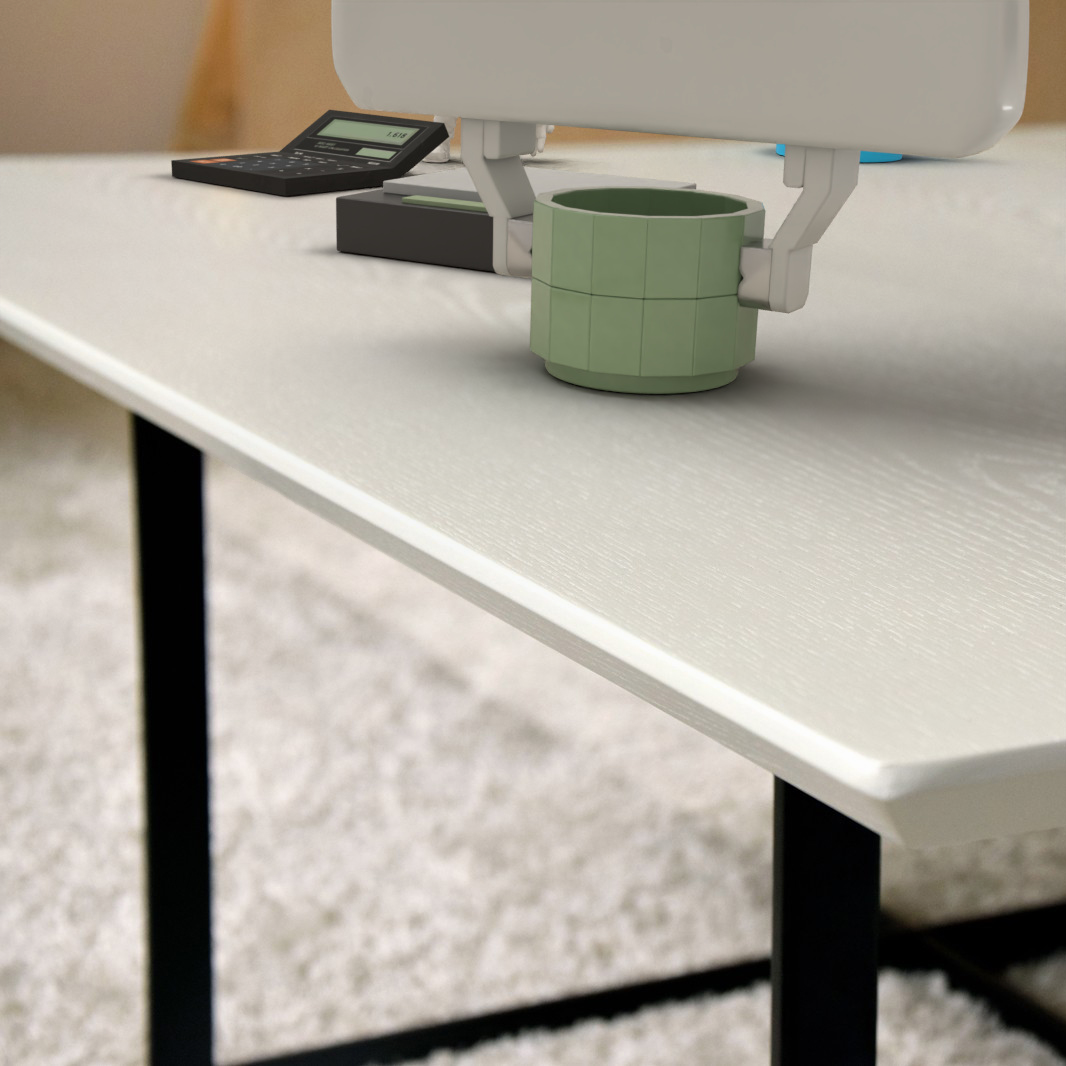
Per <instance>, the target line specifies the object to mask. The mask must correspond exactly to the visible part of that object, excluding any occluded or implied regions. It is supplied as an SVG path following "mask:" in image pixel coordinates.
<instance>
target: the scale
mask: <svg viewBox="0 0 1066 1066" xmlns="http://www.w3.org/2000/svg"><path fill="white" fill-rule="evenodd" d="M523 167H524V169H525V172H526V174H527V177H528V179H529V182H530V184H531V187H532V189H533V192H534V194H535V197H537V195H538V194H540V193H545V192H549V191H554V190H559V189H565V188H580V187H596V186H649V187H667V188H682V189H696V190H697V183H695V182H688V181H687V182H684V181H676V180H668V179H667V180H665V179H664V180H663V179H657V178H656V179H655V178H644V177H636V176H635V177H634V176H625V175H615V174H614V175H613V174H604V173H593V172H582V171H573V170H562V169H554V168H553V169H551V168H542V167H532V166H523ZM335 225H336V227H335V228H336V229H335V232H336V237H335V238H336V251H338V252H342V253H351V254H356V255H357V254H358V255H365V256H372V257H381V258H386V259H387V258H389V259H395V260H401V261H402V260H403V261H410V262H417V263H425V264H433V265H439V266H448V267H456V268H461V269H469V270H477V271H485V272H491V273H496V272H495V270H494V267H493V217H491V216H489V214H488V212H487V210H486V208H485V206H484V204H483V202H482V199H481V197H480V195H479V193H478V191H477V189H476V187H475V185H474V183H473V181H472V179H471V177H470V175H469V173H468V171H467V169H466V167H465V166H464V167H460V168H459V167H458V168H453V169H448V170H442V171H436V172H428V173H424V174H416V175H411V176H404V177H402V178H399V179H393V180H387V181H383V186H382V189H375V190H370V191H364V192H358V193H352V194H346V195H341V196H336V198H335Z"/></svg>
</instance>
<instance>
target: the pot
mask: <svg viewBox="0 0 1066 1066" xmlns="http://www.w3.org/2000/svg"><path fill="white" fill-rule="evenodd" d="M766 211H767V210H766V208H765V206H764V203H763V202H761V201H759V200H756V199H752V198H749V197H745V196H741V195H739V194H733V193H725V192H718V191H712V190H704V189H697V188H696V189H682V188H667V187H649V186H596V187H580V188H565V189H559V190H554V191H549V192H545V193H540V194H538V195H537V197H536V198H535V200H534V204H533V241H532V276H533V277H532V278H531V281H530V282H531V284H530V285H531V286H530V287H531V289H530V317H529V318H530V322H529V323H530V325H529V331H530V332H529V349H530V352H532V353H533V354H534V355H537V356H538V357H540V358H541V359H543V360H544V368H545V371H547V373H548V374H549V375H551V376H552V377H554V378H556V379H558V380H561V381H562V382H566V383H569V384H573V385H575V386H579V387H583V388H587V389H588V388H589V389H593V390H599V391H605V392H613V393H615V392H616V393H626V394H641V395H671V394H672V395H673V394H674V395H675V394H687V393H696V392H697V393H698V392H704V391H709V390H713V389H717V388H720V387H724V386H726V385H729V384H731V383H732V382H734V381H735V380H736V379H737V377H738V375H739V369H740V368H742V367H743V366H746V365H747V364H750V363H752V362H754V361H755V359H756V346H757V335H758V334H757V332H758V319H759V309H754V308H747V307H741V306H740V304H739V303H738V296H737V293H738V285H739V284H740V283H741V281H742V280H743V279H744V278H743V276H742V274H741V272H740V270H739V264H740V251H741V246H743V245H747V244H750V243H756V241H759V240H762V239H765V227H766V226H765V225H766Z"/></svg>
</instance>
